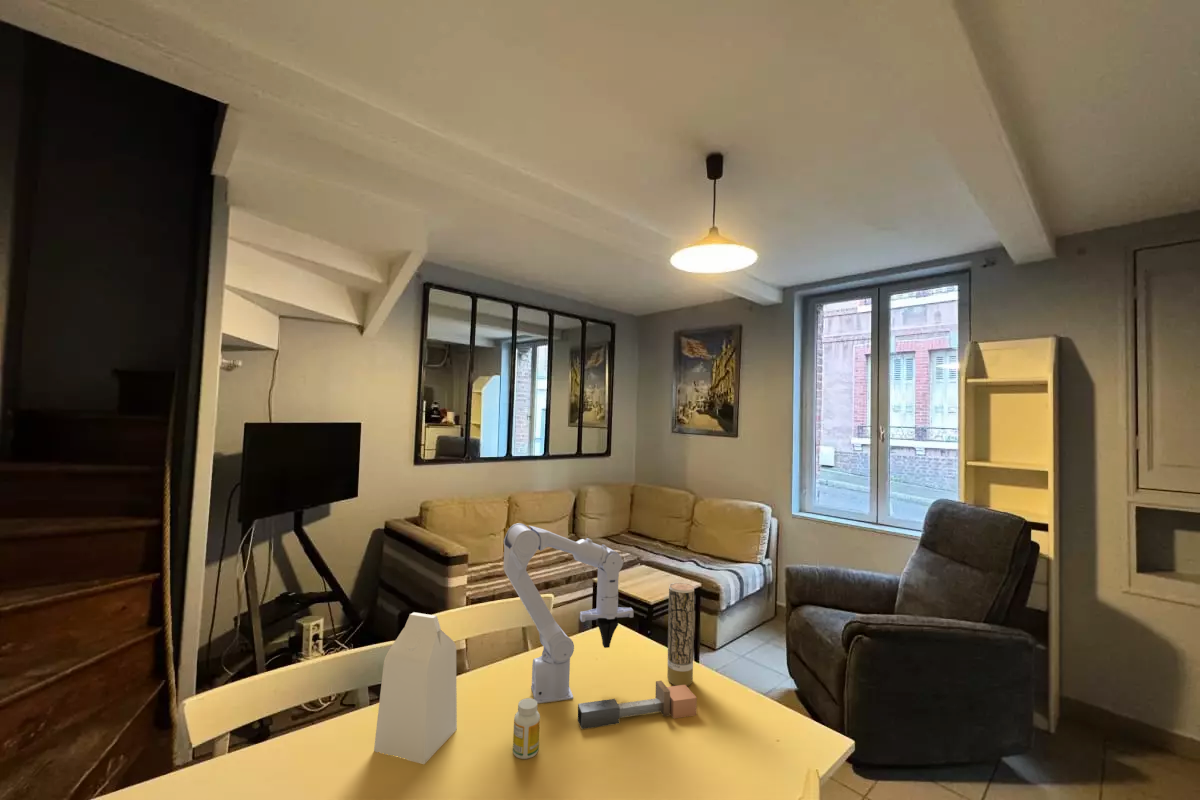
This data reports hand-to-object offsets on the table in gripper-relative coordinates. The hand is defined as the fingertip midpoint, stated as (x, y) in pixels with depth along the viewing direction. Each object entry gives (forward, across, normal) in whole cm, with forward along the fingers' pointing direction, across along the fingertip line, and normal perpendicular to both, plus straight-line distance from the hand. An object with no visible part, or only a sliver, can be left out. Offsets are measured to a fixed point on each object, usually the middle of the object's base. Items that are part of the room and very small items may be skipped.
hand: (606, 646), depth 127 cm
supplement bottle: (+10, -24, -22) cm, 34 cm away
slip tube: (+9, +4, -16) cm, 19 cm away
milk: (+10, -46, -13) cm, 49 cm away
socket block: (+9, +14, -16) cm, 23 cm away
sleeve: (+9, -6, -16) cm, 20 cm away
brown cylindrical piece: (+10, +20, -4) cm, 23 cm away
